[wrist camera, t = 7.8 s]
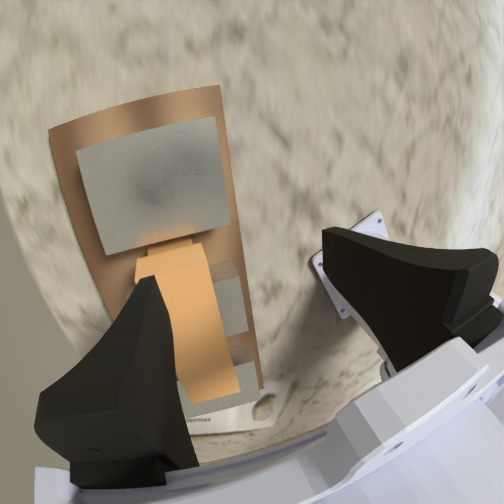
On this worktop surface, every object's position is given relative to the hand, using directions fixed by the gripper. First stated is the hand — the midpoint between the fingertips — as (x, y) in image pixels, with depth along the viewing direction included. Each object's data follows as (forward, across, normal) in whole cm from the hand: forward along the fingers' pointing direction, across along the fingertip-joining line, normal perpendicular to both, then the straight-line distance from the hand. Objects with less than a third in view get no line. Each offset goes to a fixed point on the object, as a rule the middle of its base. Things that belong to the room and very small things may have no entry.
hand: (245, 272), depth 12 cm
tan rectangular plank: (+9, +3, +7) cm, 12 cm away
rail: (+10, +3, +7) cm, 12 cm away
